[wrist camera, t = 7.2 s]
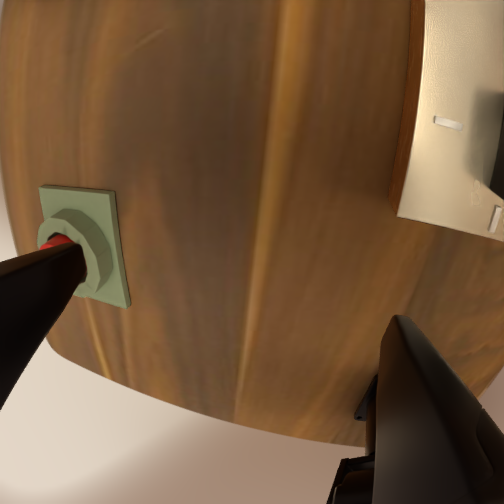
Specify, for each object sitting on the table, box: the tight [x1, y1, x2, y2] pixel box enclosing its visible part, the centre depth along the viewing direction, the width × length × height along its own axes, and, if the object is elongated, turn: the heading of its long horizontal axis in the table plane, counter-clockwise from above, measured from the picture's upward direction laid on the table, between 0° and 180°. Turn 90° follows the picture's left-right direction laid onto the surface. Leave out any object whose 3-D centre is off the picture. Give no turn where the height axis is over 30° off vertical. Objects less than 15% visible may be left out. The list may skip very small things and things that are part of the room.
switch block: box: [37, 185, 131, 309], centre depth 23 cm, size 10×8×2 cm
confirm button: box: [39, 234, 87, 275], centre depth 21 cm, size 4×4×2 cm
